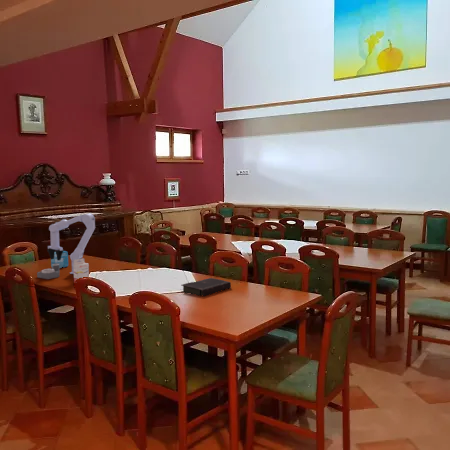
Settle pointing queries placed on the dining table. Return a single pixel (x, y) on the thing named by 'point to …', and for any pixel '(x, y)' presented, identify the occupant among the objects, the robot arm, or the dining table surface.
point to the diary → (206, 286)
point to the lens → (56, 267)
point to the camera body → (48, 274)
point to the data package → (62, 262)
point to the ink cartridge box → (80, 269)
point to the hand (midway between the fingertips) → (55, 259)
